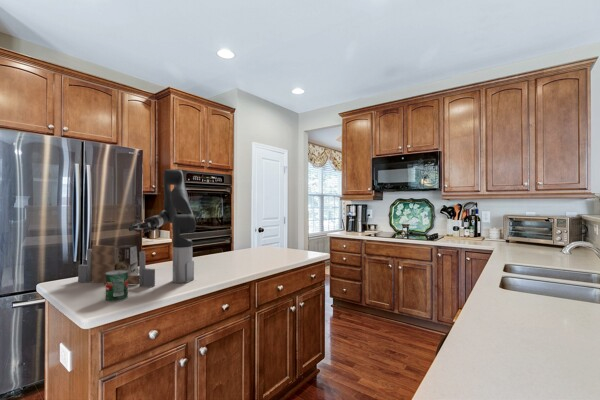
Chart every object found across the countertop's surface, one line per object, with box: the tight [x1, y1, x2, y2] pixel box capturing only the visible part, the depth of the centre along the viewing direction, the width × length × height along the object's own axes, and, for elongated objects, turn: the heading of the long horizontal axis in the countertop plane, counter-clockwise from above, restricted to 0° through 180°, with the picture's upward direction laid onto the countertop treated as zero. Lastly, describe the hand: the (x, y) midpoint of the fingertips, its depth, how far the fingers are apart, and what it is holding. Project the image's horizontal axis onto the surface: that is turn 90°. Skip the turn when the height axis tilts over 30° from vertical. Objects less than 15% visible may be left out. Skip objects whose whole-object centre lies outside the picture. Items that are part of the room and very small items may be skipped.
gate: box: [91, 244, 139, 286], centre depth 142 cm, size 26×1×18 cm, turn 78°
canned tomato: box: [104, 269, 129, 303], centre depth 121 cm, size 8×8×11 cm
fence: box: [77, 248, 156, 288], centre depth 142 cm, size 42×2×16 cm, turn 78°
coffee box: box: [114, 244, 139, 275], centre depth 155 cm, size 9×6×16 cm
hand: (136, 229), depth 161 cm, fingers open, 8 cm apart
